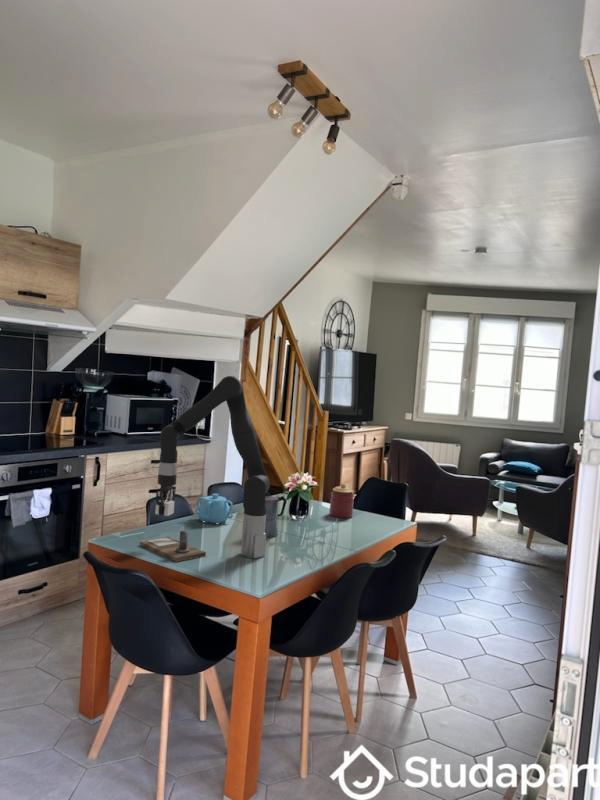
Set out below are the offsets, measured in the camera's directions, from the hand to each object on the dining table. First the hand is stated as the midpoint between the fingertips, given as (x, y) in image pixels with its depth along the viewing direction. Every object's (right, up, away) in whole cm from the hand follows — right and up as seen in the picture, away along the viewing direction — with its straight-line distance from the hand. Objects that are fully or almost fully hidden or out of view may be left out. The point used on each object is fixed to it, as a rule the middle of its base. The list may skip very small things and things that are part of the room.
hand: (164, 513), depth 252 cm
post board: (+4, -14, -4) cm, 16 cm away
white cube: (0, 0, 0) cm, 0 cm away
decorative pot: (+14, -13, +47) cm, 51 cm away
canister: (+79, -17, +81) cm, 114 cm away
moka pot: (+42, -16, +31) cm, 54 cm away
